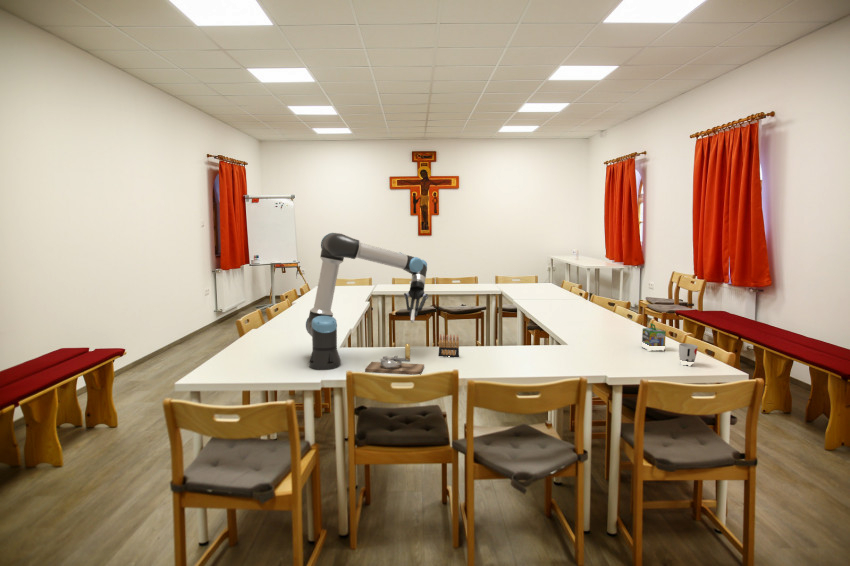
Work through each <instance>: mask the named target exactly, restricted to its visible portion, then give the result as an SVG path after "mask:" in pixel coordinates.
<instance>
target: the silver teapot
mask: <svg viewBox="0 0 850 566" xmlns="http://www.w3.org/2000/svg"><path fill="white" fill-rule="evenodd" d="M379 362H380V366H381V367H382V368H384V369H397V368H400V367H401V366H402V363H403V362H404V363H408V362H411V344H410V343H406V344H404V357H399V355H393V356H392V357H389V356H387V355H384V356H383V355H382V358H380V361H379Z"/></svg>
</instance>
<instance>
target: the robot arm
mask: <svg viewBox="0 0 850 566" xmlns="http://www.w3.org/2000/svg"><path fill="white" fill-rule="evenodd" d="M320 249H321V251H320V259H321V261H322V262H321V269H320V273H319V278H318V284H317V287H316V289H317V290H316V295H315V300H314V304H313V307H312V308H311V309H310V310H309V314H308V317H307V319H306V321H305V330H306V332H307V333H308V334H309V335H310V336H311V337H312V339H311V341H312V343H311V344H312V345H311V346H312V351H311V355H310V356H309V361H308V367H309V368H310V369H314V370H322V371H323V370H331V369H332V370H333V369H337V368H339V367H340V366H341V365H342V360H341V357H340V355H339V350H338V335H337V334H338V331H337V330H338V324H337V319H336V318H335V317H333V316H334V314H333V311H332V305H333V300H334V294H335V291H336V284H337V280H338V274H339V268H340V265H341V264H342V263H343V262H344V260H345V258H346V259H350V260H351V259H353V260H355V259H360V260H364V261H369V262H373V263H377V264H381V265H385V266H390V267H393V268H398V269H401V270H403V271H404V272H405V271H406V272H407V273H409V274H411V280H410V285H409V286H410V287H409V290H408V292H407V293H406V292H404V293H403V296H404V299H405V303H406V309H407V312H408V311H409V317H410V323H413V324H414V323H415V318H416V317H418V312H421V311H423V308H424V306H425V303H426V301H427V299H428V298H429V294H428V293H425V286H426V278H427V271H428V263H427V261H426V260H424V259H421V258H419V257H416V256H412V255H407V254H404V253H403V252H397V251H392V250H389V249H386V248H383V247H382V248H381V247H378V246H374V245H370V244H366V243H363V242H361V241H360V240H359V239H357V238H352V237H351V236H348V235H346V234H343V233H340V232H339V233H338V232H330V233H328V234H326V235H324V236H323V237H322V239H321V242H320ZM409 297H410V298H411V299H410V300H411V301H409ZM420 299H421V302H420ZM414 308H415V309H414Z"/></svg>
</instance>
